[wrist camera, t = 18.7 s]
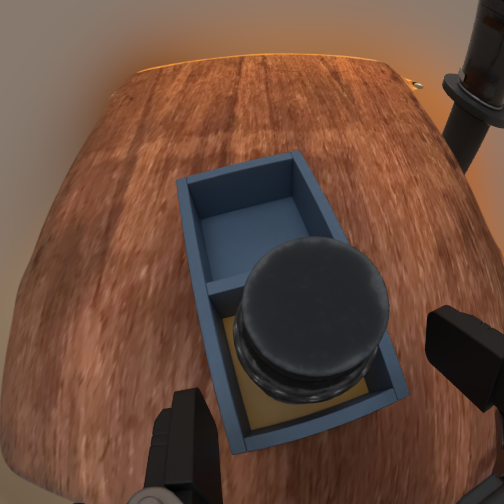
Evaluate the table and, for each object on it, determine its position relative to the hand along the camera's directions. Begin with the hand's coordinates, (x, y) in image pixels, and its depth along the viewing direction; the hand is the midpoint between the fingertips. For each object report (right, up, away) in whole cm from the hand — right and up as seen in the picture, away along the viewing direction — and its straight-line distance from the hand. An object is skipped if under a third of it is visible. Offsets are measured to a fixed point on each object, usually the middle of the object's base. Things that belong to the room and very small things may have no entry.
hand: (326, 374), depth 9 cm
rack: (-1, 0, +12) cm, 12 cm away
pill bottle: (+1, -3, +10) cm, 10 cm away
